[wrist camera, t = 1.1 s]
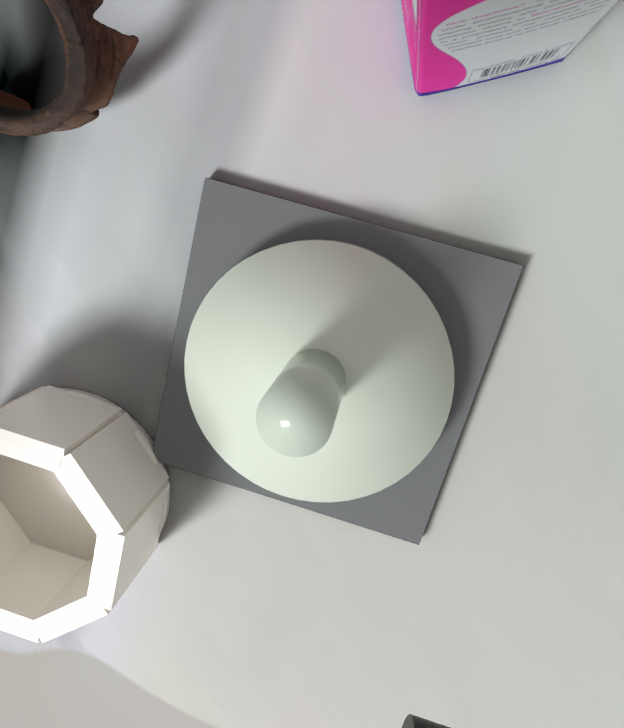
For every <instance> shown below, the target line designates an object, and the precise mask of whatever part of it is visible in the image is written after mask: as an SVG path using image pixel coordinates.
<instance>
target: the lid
mask: <svg viewBox="0 0 624 728" xmlns="http://www.w3.org/2000/svg"><path fill="white" fill-rule="evenodd" d="M184 369H185V382H186V389H187V394H188V398H189V401H190V405H191V408H192V411H193V413H194V416H195V418H196V421H197V423H198V425H199V426H200V428H201V430H202V432H203V434H204V435H205V437H206V439H207V440H208V441H209V443H210V444H211V445H212V447H213V448H214V450H215V451H216V452H217V453H218V454H219V455H220V456H221V457H222V458H223V459H224V461H225V462H226V463H228V464H229V465H230V466H231V467H232V468H233V469H235V470H236V471H237V472H238V473H239V474H241V475H242V476H244V477H245V478H247V479H248V480H250V481H251V482H253V483H255V484H257V485H258V486H260V487H262V488H264V489H266V490H268V491H271V492H274V493H276V494H279V495H282V496H285V497H289V498H293V499H297V500H303V501H310V502H340V501H349V500H353V499H357V498H362V497H365V496H368V495H371V494H373V493H376V492H379V491H381V490H383V489H385V488H387V487H389V486H391V485H393V484H395V483H396V482H397V481H399V480H400V479H402V478H403V477H405V476H406V475H407V474H409V473H410V472H411V471H412V470H413V469H414V468H415V467H416V466H417V465H419V464H420V463H421V462H422V460H423V459H424V458H425V457H426V456H427V454H428V453H429V452H430V451H431V449H432V448H433V446H434V445H435V443H436V441H437V440H438V438H439V437H440V435H441V433H442V430H443V428H444V426H445V424H446V421H447V419H448V415H449V412H450V408H451V405H452V399H453V392H454V362H453V355H452V349H451V346H450V342H449V339H448V336H447V332H446V329H445V327H444V324H443V322H442V320H441V318H440V315H439V313H438V311H437V309H436V308H435V306H434V304H433V303H432V301H431V300H430V298H429V296H428V295H427V294H426V293H425V291H424V290H423V289H422V288H421V286H420V285H419V284H418V283H417V282H416V281H415V280H414V279H413V278H412V277H411V276H410V275H409V274H408V273H407V272H405V271H404V270H403V269H402V268H401V267H399V266H398V265H396V264H395V263H393V262H392V261H391V260H389V259H388V258H386V257H384V256H382V255H380V254H378V253H376V252H374V251H372V250H370V249H367V248H364V247H361V246H358V245H355V244H352V243H347V242H342V241H337V240H325V239H311V240H299V241H294V242H289V243H284V244H280V245H277V246H274V247H272V248H269V249H266V250H263V251H260V252H258V253H256V254H254V255H252V256H250V257H248V258H246V259H245V260H243V261H242V262H240V263H239V264H237V265H236V266H235V267H233V268H232V269H230V270H229V271H228V272H227V273H226V274H225V275H224V276H223V277H222V278H221V279H219V280H218V281H217V282H216V284H215V285H214V286H213V287H212V289H211V290H210V291H209V292H208V294H207V295H206V296H205V298H204V300H203V301H202V303H201V305H200V307H199V308H198V310H197V312H196V315H195V317H194V319H193V322H192V324H191V327H190V331H189V334H188V338H187V342H186V350H185V358H184Z"/></svg>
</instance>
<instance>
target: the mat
mask: <svg viewBox="0 0 624 728" xmlns="http://www.w3.org/2000/svg"><path fill="white" fill-rule="evenodd" d="M311 239H325V240H337V241H342V242H347V243H352V244H355V245H358V246H361V247H364V248H367V249H370V250H372V251H374V252H376V253H378V254H380V255H382V256H384V257H386V258H388V259H389V260H391V261H392V262H393V263H395V264H396V265H398V266H399V267H401V268H402V269H403V270H404V271H405V272H407V273H408V274H409V275H410V276H411V277H412V278H413V279H414V280H415V281H416V282H417V283H418V284H419V285H420V286H421V288H422V289H423V290H424V291H425V293H426V294H427V295H428V296H429V298H430V300H431V301H432V303H433V304H434V306H435V308H436V309H437V311H438V313H439V315H440V318H441V320H442V322H443V324H444V327H445V329H446V332H447V336H448V339H449V342H450V346H451V349H452V355H453V362H454V392H453V399H452V405H451V408H450V412H449V415H448V419H447V421H446V424H445V426H444V428H443V430H442V433H441V435H440V437H439V438H438V440H437V441H436V443H435V445H434V446H433V448H432V449H431V451H430V452H429V453H428V454H427V456H426V457H425V458H424V459H423V460H422V462H421V463H420V464H419V465H417V466H416V467H415V468H414V469H413V470H412V471H411V472H410V473H409V474H407V475H406V476H405V477H403V478H402V479H400V480H399V481H397V482H396V483H395V484H393V485H391V486H389V487H387V488H385V489H383V490H381V491H379V492H376V493H373V494H371V495H368V496H365V497H362V498H357V499H353V500H349V501H340V502H310V501H303V500H297V499H293V498H289V497H285V496H282V495H279V494H276V493H274V492H271V491H268V490H266V489H264V488H262V487H260V486H258V485H257V484H255V483H253V482H251V481H250V480H248V479H247V478H245V477H244V476H242V475H241V474H239V473H238V472H237V471H236V470H235V469H233V468H232V467H231V466H230V465H229V464H228V463H226V462H225V461H224V459H223V458H222V457H221V456H220V455H219V454H218V453H217V452H216V451H215V450H214V448H213V447H212V445H211V444H210V443H209V441H208V440H207V439H206V437H205V435H204V434H203V432H202V430H201V428H200V426H199V425H198V423H197V421H196V418H195V416H194V413H193V411H192V408H191V405H190V401H189V398H188V394H187V389H186V382H185V369H184V358H185V350H186V342H187V338H188V334H189V331H190V327H191V324H192V322H193V319H194V317H195V315H196V312H197V310H198V308H199V307H200V305H201V303H202V301H203V300H204V298H205V296H206V295H207V294H208V292H209V291H210V290H211V289H212V287H213V286H214V285H215V284H216V282H217V281H218V280H219V279H221V278H222V277H223V276H224V275H225V274H226V273H227V272H228V271H229V270H230V269H232V268H233V267H235V266H236V265H237V264H239V263H240V262H242V261H243V260H245V259H246V258H248V257H250V256H252V255H254V254H256V253H258V252H260V251H263V250H266V249H269V248H272V247H274V246H277V245H280V244H284V243H289V242H294V241H299V240H311ZM522 268H523V266H522V265H520V264H516V263H513V262H509V261H506V260H502V259H498V258H495V257H491V256H488V255H484V254H480V253H477V252H473V251H470V250H466V249H462V248H459V247H455V246H452V245H448V244H444V243H441V242H437V241H433V240H430V239H426V238H423V237H419V236H415V235H412V234H408V233H405V232H401V231H397V230H394V229H390V228H387V227H383V226H379V225H376V224H372V223H369V222H365V221H361V220H358V219H354V218H351V217H347V216H343V215H340V214H336V213H332V212H329V211H325V210H322V209H318V208H314V207H311V206H307V205H304V204H300V203H296V202H293V201H289V200H286V199H282V198H278V197H275V196H271V195H268V194H264V193H260V192H257V191H253V190H250V189H246V188H242V187H239V186H235V185H232V184H228V183H224V182H221V181H217V180H213V179H210V178H205V181H204V186H203V191H202V196H201V202H200V207H199V212H198V217H197V222H196V228H195V233H194V238H193V243H192V248H191V254H190V259H189V264H188V269H187V275H186V280H185V285H184V290H183V295H182V301H181V306H180V311H179V316H178V321H177V327H176V332H175V337H174V342H173V347H172V353H171V358H170V363H169V368H168V374H167V379H166V384H165V389H164V394H163V400H162V405H161V410H160V415H159V420H158V426H157V431H156V436H155V441H154V446H153V453H154V455H155V456H156V459H157V461H158V462H161V463H164V464H167V465H171V466H174V467H177V468H180V469H183V470H186V471H189V472H192V473H196V474H199V475H202V476H205V477H208V478H211V479H214V480H217V481H221V482H224V483H227V484H230V485H233V486H236V487H239V488H242V489H246V490H249V491H252V492H255V493H258V494H261V495H264V496H267V497H271V498H274V499H277V500H280V501H283V502H286V503H289V504H292V505H296V506H299V507H302V508H305V509H308V510H311V511H314V512H317V513H321V514H324V515H327V516H330V517H333V518H336V519H339V520H343V521H346V522H349V523H352V524H355V525H358V526H361V527H364V528H368V529H371V530H374V531H377V532H380V533H383V534H386V535H389V536H393V537H396V538H399V539H402V540H405V541H408V542H411V543H414V544H418V545H419V543H420V541H421V538H422V535H423V533H424V530H425V527H426V525H427V522H428V519H429V517H430V514H431V511H432V509H433V506H434V503H435V501H436V498H437V495H438V493H439V490H440V487H441V485H442V482H443V479H444V477H445V474H446V471H447V469H448V466H449V463H450V461H451V458H452V455H453V452H454V450H455V447H456V444H457V442H458V439H459V436H460V434H461V431H462V428H463V426H464V423H465V420H466V418H467V415H468V412H469V410H470V407H471V404H472V402H473V399H474V396H475V394H476V391H477V388H478V386H479V383H480V380H481V378H482V375H483V372H484V370H485V367H486V364H487V362H488V359H489V356H490V354H491V351H492V348H493V346H494V343H495V340H496V338H497V335H498V332H499V329H500V327H501V324H502V321H503V319H504V316H505V313H506V311H507V308H508V305H509V303H510V300H511V297H512V295H513V292H514V289H515V287H516V284H517V281H518V279H519V276H520V273H521V271H522Z"/></svg>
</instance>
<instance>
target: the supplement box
mask: <svg viewBox="0 0 624 728" xmlns="http://www.w3.org/2000/svg"><path fill="white" fill-rule="evenodd" d="M401 1H402V8H403V16H404V23H405V29H406V36H407V42H408V49H409V55H410V62H411V68H412V74H413V80H414V86H415V91H416V93H417V94H418V96H425V95H431V94H435V93H440V92H444V91H449V90H453V89H457V88H461V87H465V86H469V85H473V84H477V83H481V82H485V81H489V80H493V79H497V78H501V77H505V76H509V75H513V74H517V73H521V72H524V71H528V70H532V69H536V68H539V67H543V66H547V65H550V64H554V63H558V62H562V61H563V60H564V59H565V57H566V56H567V55H568V54H569V53H570V52H571V51H572V50H573V49H574V47H575V46H576V45H577V44H578V43H579V42H580V41H581V40H582V39H583V38H584V37H585V36H586V35H587V34H588V33H589V31H590V30H591V29H592V28H593V27H594V26H595V25H596V24H597V23H598V22H599V21H600V20H601V19H602V18H603V17H604V16H605V15H606V13H607V12H608V11H609V10H610V9H611V8H612V7H613V6H614V5H615V4H616V3H617V2H618V1H619V0H401Z"/></svg>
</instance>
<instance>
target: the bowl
mask: <svg viewBox="0 0 624 728" xmlns="http://www.w3.org/2000/svg"><path fill="white" fill-rule="evenodd" d="M153 446H154V442H153V440H152V439H151V437H150V436H149V435H148V433H147V432H146V431H145V429H144V428H143V427H142V426H141V425H140V424H139V423H138V422H137V421H136V420H135V419H134V418H133V417H132V416H130V415H129V414H128V413H127V412H126V411H125V410H123V409H122V408H120V407H119V406H117V405H116V404H114V403H112V402H111V401H109V400H107V399H105V398H103V397H101V396H98V395H95V394H93V393H90V392H86V391H82V390H78V389H72V388H56V387H53V386H50V385H47V386H45V387H44V386H41V387H39V388H37V389H35V390H33V391H31V392H29V393H27V394H25V395H23V396H21V397H19V398H17V399H15V400H13V401H11V402H9V403H7V404H5V405H3V406H1V407H0V630H2V631H5V632H8V633H11V634H14V635H17V636H19V637H22V638H25V639H28V640H31V641H34V642H37V643H38V642H39V641H40V640H41V641H42V642H43V643H44V642H46V641H49V640H51V639H53V638H56V637H58V636H60V635H62V634H65V633H67V632H69V631H72V630H74V629H76V628H78V627H81V626H83V625H85V624H88V623H90V622H92V621H94V620H97V619H99V618H101V617H104V616H106V615H108V614H109V612H110V611H111V610H112V609H113V607H114V606H115V604H116V603H117V602H118V600H119V599H120V597H121V596H122V595H123V593H124V592H125V591H126V589H127V588H128V586H129V585H130V584H131V582H132V581H133V580H134V578H135V577H136V575H137V574H138V573H139V571H140V570H141V568H142V567H143V566H144V564H145V563H146V562H147V560H148V559H149V557H150V556H151V555H152V553H153V552H154V551H155V549H156V548H157V545H158V540H159V536H160V533H161V531H162V529H163V527H164V525H165V522H166V519H167V516H168V512H169V505H170V482H169V479H168V478H169V476H168V474H167V471H166V467H165V464H164V463H161V462H158V461H157V459H156V456H155V455H154V453H153Z"/></svg>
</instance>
